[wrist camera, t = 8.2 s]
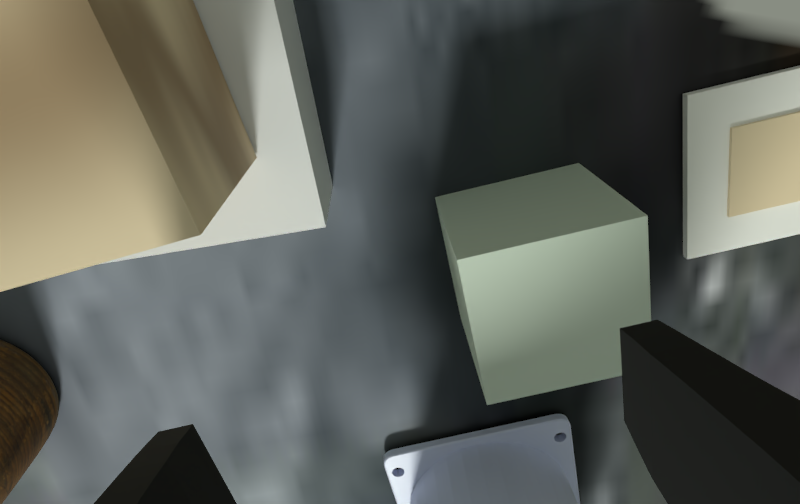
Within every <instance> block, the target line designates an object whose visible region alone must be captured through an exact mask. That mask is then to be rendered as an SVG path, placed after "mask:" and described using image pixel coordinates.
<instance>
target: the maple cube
mask: <svg viewBox="0 0 800 504" xmlns="http://www.w3.org/2000/svg"><path fill="white" fill-rule="evenodd" d="M256 158H257V157H256V154H255V152H254V149H253V147H252V144H251V142H250V139H249V137H248V134H247V132H246V130H245V127H244V125H243V122H242V120H241V117H240V115H239V112H238V110H237V107H236V105H235V102H234V100H233V98H232V95H231V93H230V90H229V88H228V85H227V83H226V80H225V78H224V75H223V73H222V70H221V68H220V65H219V63H218V61H217V58H216V56H215V53H214V51H213V48H212V46H211V43H210V41H209V38H208V36H207V33H206V31H205V29H204V26H203V24H202V21H201V19H200V16H199V14H198V11H197V9H196V6H195V4H194V1H193V0H0V292H2V291H5V290H9V289H12V288H16V287H19V286H23V285H26V284H30V283H33V282H37V281H40V280H44V279H48V278H51V277H55V276H58V275H62V274H65V273H69V272H72V271H76V270H79V269H83V268H86V267H90V266H93V265H97V264H100V263H104V262H107V261H111V260H114V259H118V258H121V257H125V256H128V255H132V254H135V253H139V252H142V251H146V250H149V249H153V248H156V247H160V246H163V245H167V244H170V243H174V242H177V241H181V240H184V239H188V238H192V237H195V236H199V235H201V234H202V233H203V231H204V230H205V229H206V227H207V226H208V224H209V223H210V222H211V220H212V219H213V217H214V216H215V215H216V213H217V212H218V211H219V209H220V208H221V206H222V205H223V204H224V202H225V201H226V199H227V198H228V197H229V195H230V194H231V193H232V191H233V190H234V188H235V187H236V186H237V184H238V183H239V181H240V180H241V179H242V177H243V176H244V175H245V173H246V172H247V170H248V169H249V168H250V166H251V165H252V164H253V162H254V161H255V159H256Z"/></svg>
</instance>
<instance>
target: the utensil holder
mask: <svg viewBox="0 0 800 504" xmlns="http://www.w3.org/2000/svg"><path fill="white" fill-rule="evenodd" d="M58 411H59V401H58V395H57V391H56V388H55V386H54V384H53V382H52V380H51V378H50V377H49V375H48V374H47V372H46V371H45V370H44V369H43V368H42V366H41V365H40V364H39V363H38V362H37V361H36V360H34V359H33V358H32V357H31V356H29V355H28V354H27V353H25V352H24V351H22V350H21V349H19V348H17V347H16V346H14V345H12V344H10V343H7V342H5V341H3V340H0V504H2V503H3V501H4V500H5V499H6V497H7V496H8V495H9V493H10V492H11V491H12V489H13V488H14V486H15V485H16V484H17V482H18V481H19V480H20V478H21V477H22V475H23V474H24V473H25V471H26V470H27V468H28V467H29V466H30V464H31V463H32V461H33V460H34V459H35V457H36V456H37V454H38V453H39V451H40V450H41V448H42V447H43V445H44V444H45V442H46V441H47V439H48V437H49V436H50V434H51V432H52V430H53V428H54V426H55V423H56V420H57V417H58Z"/></svg>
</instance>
